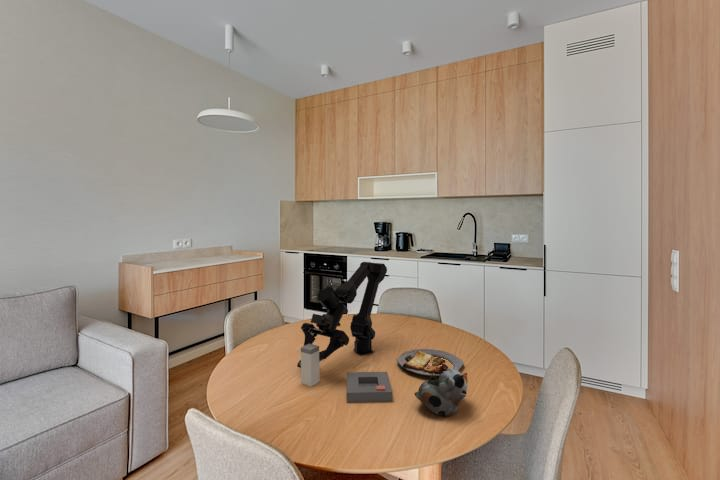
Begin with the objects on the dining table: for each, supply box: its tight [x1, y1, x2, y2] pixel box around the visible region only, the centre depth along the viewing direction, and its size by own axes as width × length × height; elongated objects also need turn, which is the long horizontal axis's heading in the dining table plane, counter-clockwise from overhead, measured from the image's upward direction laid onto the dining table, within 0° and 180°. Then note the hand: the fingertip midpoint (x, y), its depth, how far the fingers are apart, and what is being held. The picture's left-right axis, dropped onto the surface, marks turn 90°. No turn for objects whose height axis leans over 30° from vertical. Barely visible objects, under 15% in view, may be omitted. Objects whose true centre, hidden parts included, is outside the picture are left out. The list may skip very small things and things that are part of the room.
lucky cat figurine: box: [414, 368, 469, 418], centre depth 101 cm, size 15×12×14 cm
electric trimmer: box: [297, 349, 326, 369], centre depth 135 cm, size 4×16×3 cm, turn 142°
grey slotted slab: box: [346, 371, 393, 403], centre depth 111 cm, size 14×14×4 cm
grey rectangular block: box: [300, 343, 320, 388], centre depth 117 cm, size 4×4×12 cm
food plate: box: [396, 348, 465, 377], centre depth 130 cm, size 25×23×4 cm
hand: (313, 355), depth 118 cm, fingers open, 9 cm apart
